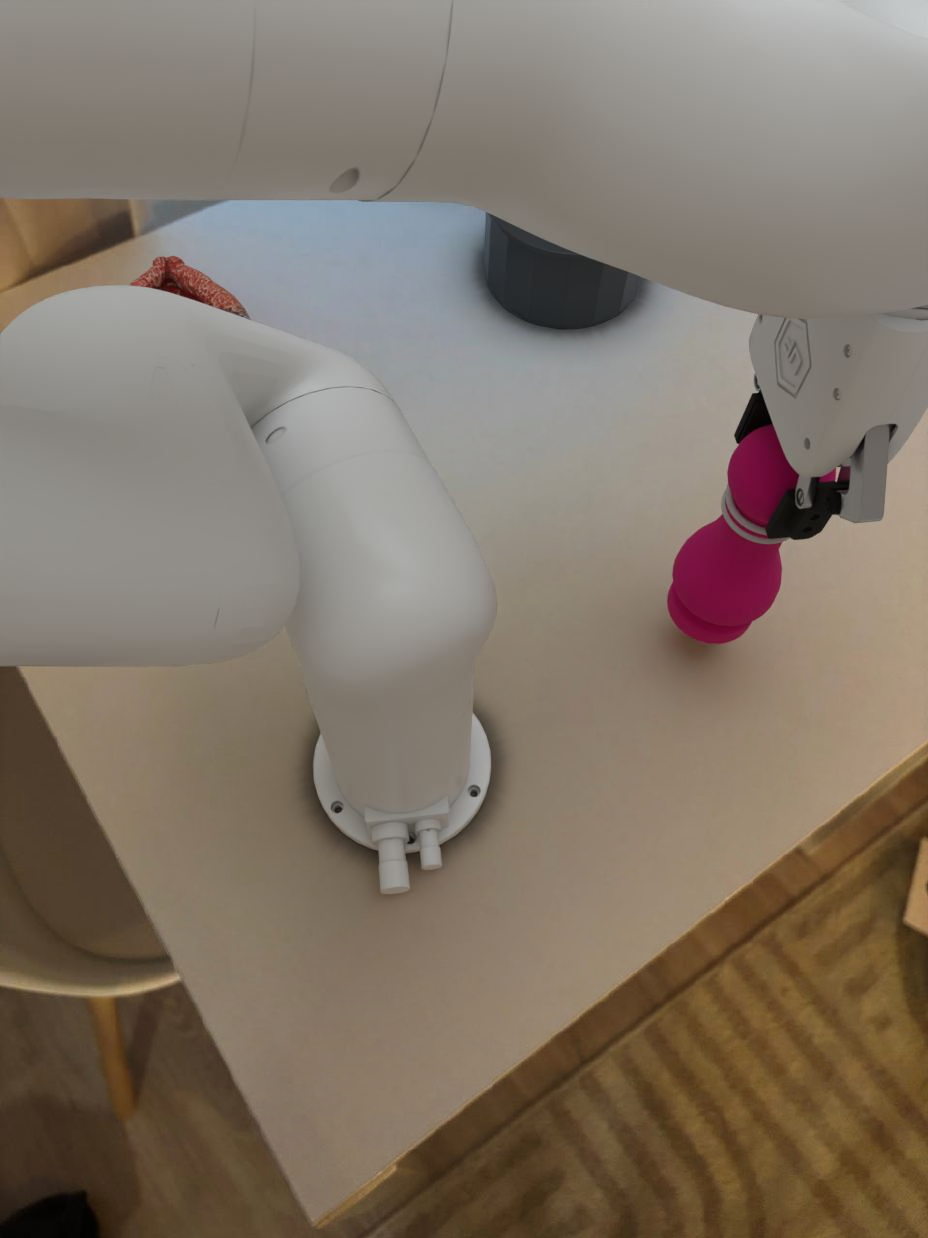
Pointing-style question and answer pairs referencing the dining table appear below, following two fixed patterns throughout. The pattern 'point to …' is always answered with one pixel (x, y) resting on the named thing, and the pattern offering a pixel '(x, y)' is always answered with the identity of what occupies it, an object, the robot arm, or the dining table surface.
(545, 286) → the pot
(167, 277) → the dish
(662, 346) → the dining table surface
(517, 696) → the dining table surface
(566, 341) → the dining table surface
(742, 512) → the pepper mill
